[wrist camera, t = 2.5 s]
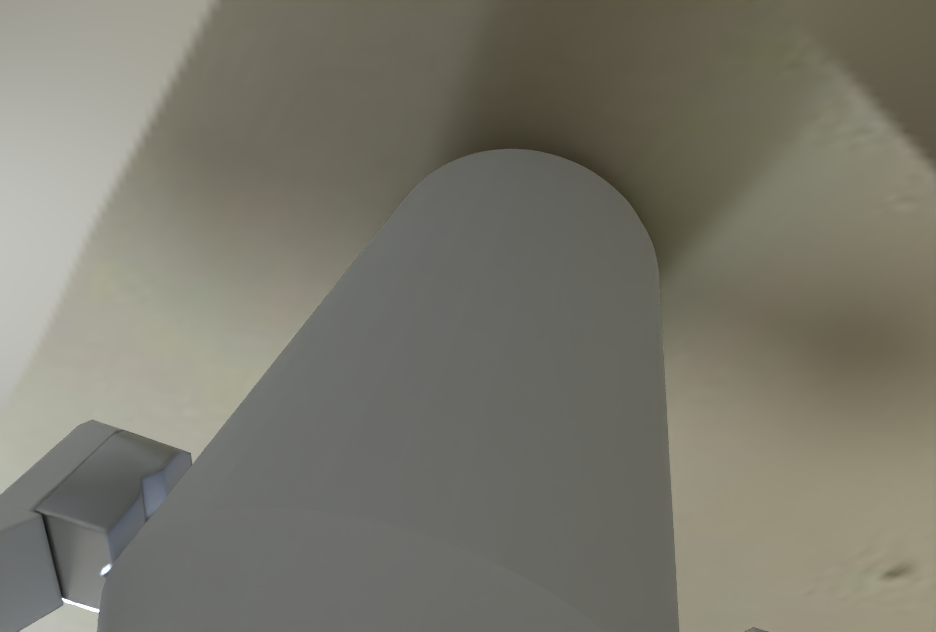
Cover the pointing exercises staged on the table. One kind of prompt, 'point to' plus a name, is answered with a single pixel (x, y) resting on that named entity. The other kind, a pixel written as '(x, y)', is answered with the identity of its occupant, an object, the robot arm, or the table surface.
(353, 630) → the beverage can
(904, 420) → the table surface
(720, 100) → the table surface
